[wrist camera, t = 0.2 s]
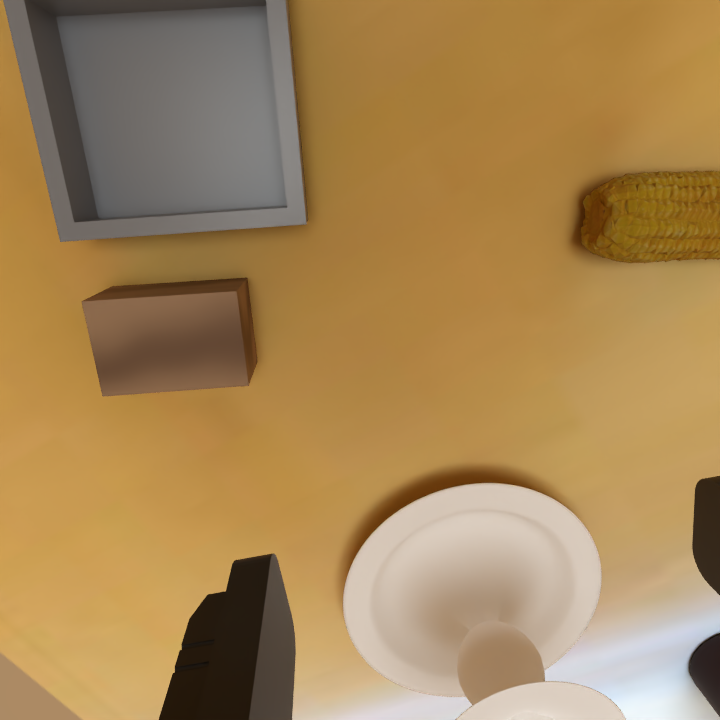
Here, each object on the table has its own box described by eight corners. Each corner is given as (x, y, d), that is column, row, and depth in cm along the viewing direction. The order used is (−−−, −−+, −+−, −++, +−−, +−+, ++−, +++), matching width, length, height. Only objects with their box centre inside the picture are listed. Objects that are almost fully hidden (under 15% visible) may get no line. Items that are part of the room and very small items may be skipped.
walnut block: (112, 286, 36) (81, 301, 32) (247, 277, 37) (236, 291, 32) (129, 369, 38) (102, 396, 33) (257, 360, 39) (248, 385, 34)
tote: (42, 2, 31) (-3, -27, 27) (287, -11, 31) (281, -41, 27) (92, 234, 35) (60, 241, 31) (308, 219, 36) (306, 224, 31)
